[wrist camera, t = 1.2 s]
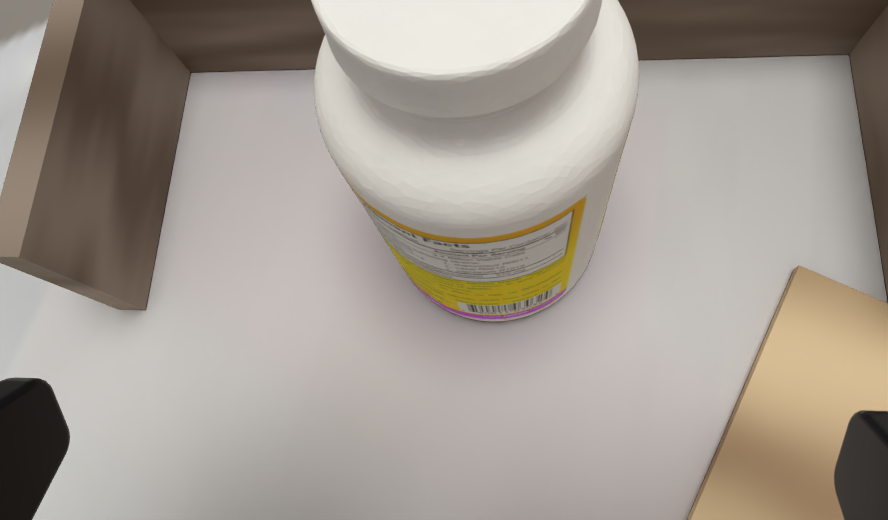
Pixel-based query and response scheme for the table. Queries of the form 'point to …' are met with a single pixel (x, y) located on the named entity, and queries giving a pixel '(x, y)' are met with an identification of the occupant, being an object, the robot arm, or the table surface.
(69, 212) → the cubby
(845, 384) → the coaster
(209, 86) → the table surface
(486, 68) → the supplement bottle
